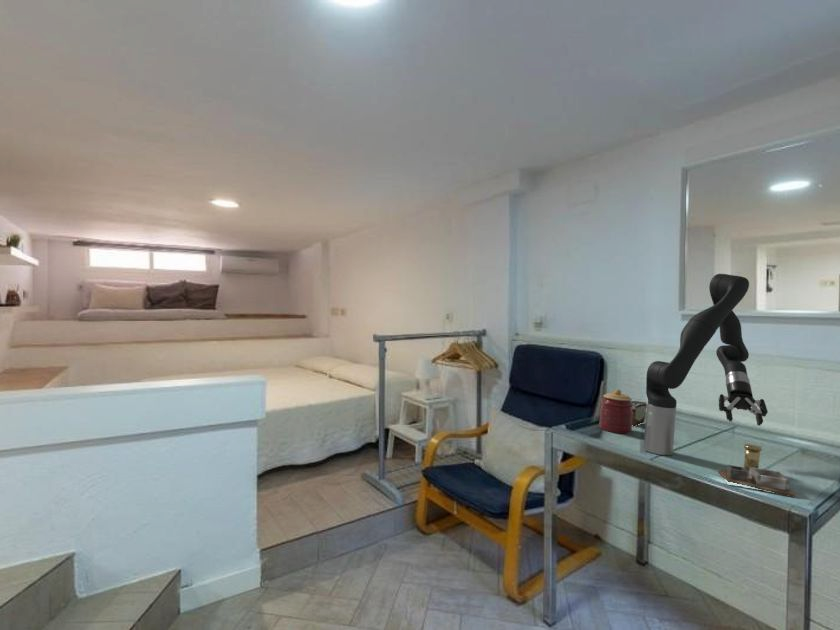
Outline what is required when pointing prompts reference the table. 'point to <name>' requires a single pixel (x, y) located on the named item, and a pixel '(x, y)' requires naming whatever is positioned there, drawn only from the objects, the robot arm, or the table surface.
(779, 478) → the collar base
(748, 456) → the gold round-topped cylinder
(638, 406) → the food container
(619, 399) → the canister
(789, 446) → the table surface
